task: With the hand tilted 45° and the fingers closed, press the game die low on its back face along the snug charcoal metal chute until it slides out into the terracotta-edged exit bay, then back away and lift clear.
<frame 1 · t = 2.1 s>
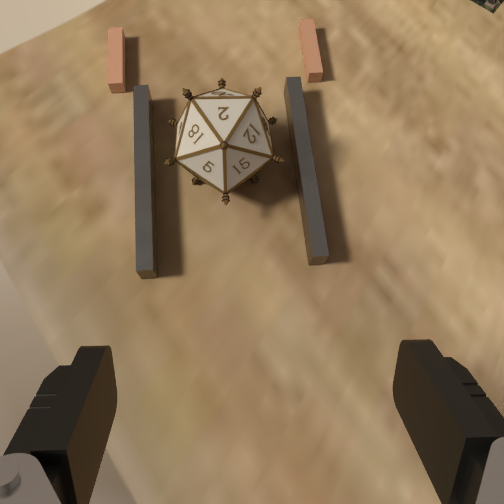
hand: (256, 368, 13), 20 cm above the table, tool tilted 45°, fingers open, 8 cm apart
chute: (225, 177, 38), on the table
game die: (224, 168, 38), on the table
exit bay: (215, 59, 42), on the table
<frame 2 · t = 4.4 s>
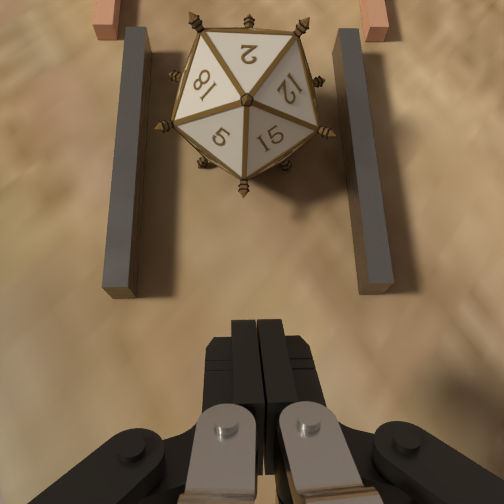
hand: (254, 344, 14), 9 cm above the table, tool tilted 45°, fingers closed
chute: (245, 161, 27), on the table
game die: (245, 149, 27), on the table
exit bay: (241, 5, 31), on the table
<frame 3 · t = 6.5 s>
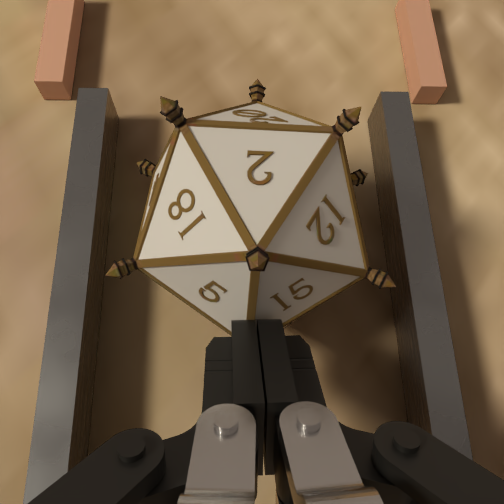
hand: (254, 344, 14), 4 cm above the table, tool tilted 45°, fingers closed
chute: (248, 285, 19), on the table
game die: (247, 260, 19), on the table, touching gripper
exit bay: (243, 51, 23), on the table
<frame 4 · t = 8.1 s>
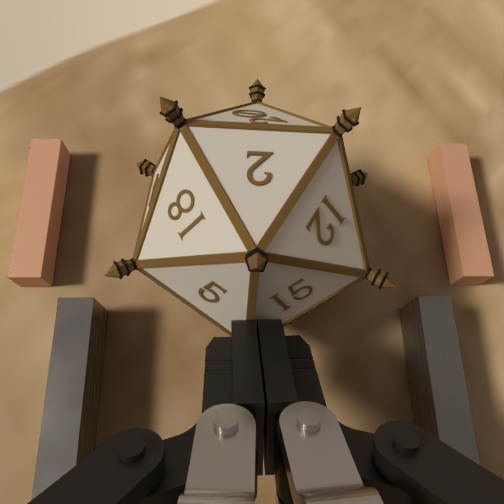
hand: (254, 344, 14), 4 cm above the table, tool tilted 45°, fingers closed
game die: (247, 261, 19), on the table, touching gripper
exit bay: (253, 217, 20), on the table
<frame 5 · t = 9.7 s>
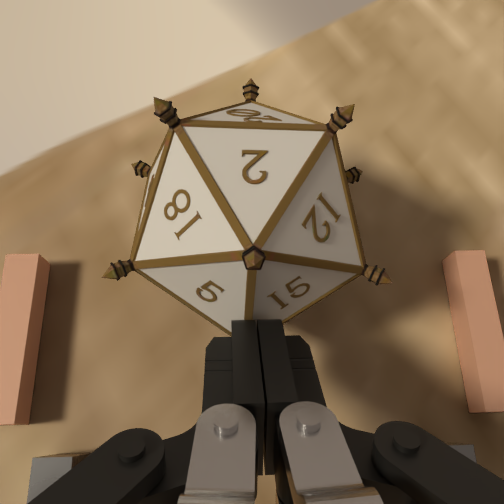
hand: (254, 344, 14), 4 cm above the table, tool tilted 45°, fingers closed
game die: (244, 260, 19), on the table, touching gripper
exit bay: (252, 335, 18), on the table
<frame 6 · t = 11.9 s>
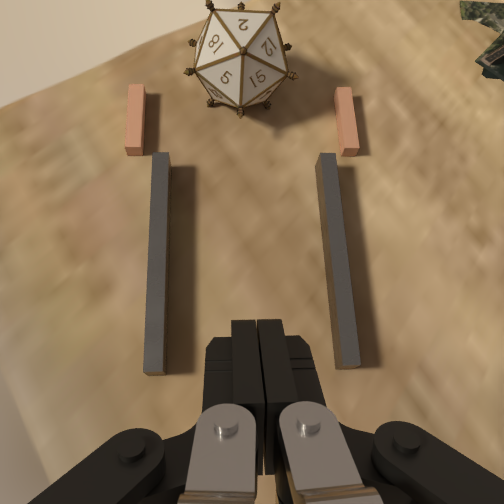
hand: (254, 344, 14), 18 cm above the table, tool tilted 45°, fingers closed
chute: (247, 260, 34), on the table
game die: (238, 95, 40), on the table
exit bay: (242, 124, 38), on the table
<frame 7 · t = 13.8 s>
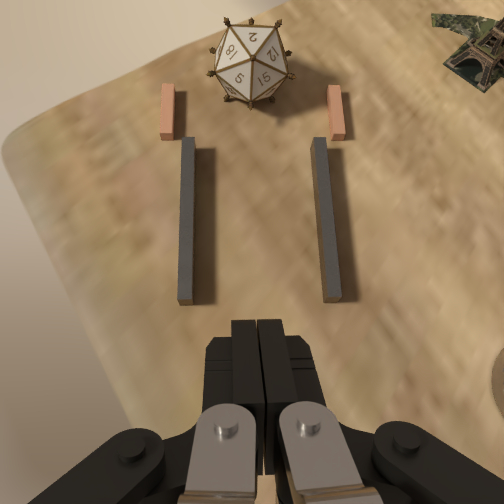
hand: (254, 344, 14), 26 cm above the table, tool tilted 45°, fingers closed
eiffel tower figurine: (478, 70, 53), on the table
chute: (256, 221, 44), on the table
game die: (249, 92, 49), on the table
exit bay: (252, 115, 48), on the table
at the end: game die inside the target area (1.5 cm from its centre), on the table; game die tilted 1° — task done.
